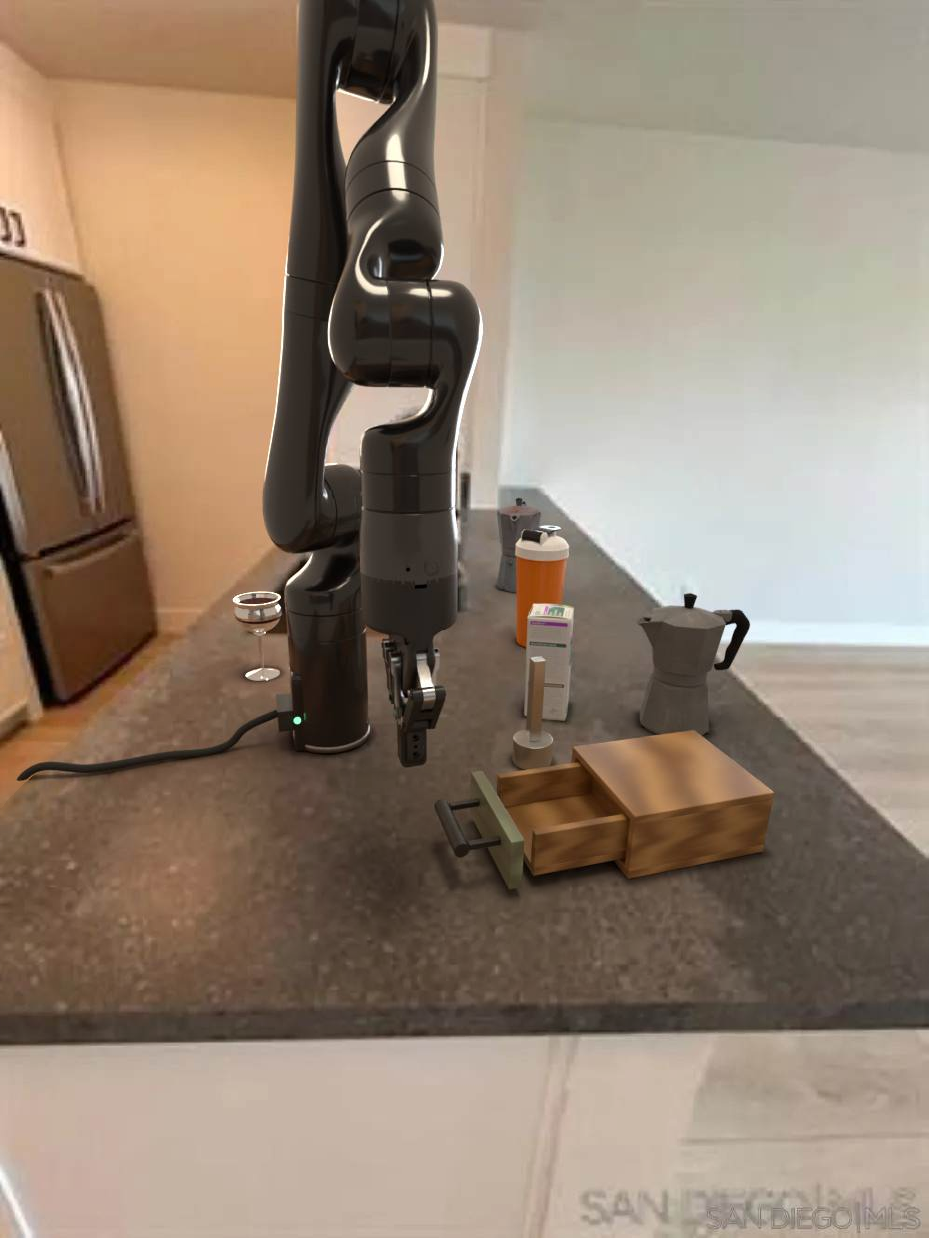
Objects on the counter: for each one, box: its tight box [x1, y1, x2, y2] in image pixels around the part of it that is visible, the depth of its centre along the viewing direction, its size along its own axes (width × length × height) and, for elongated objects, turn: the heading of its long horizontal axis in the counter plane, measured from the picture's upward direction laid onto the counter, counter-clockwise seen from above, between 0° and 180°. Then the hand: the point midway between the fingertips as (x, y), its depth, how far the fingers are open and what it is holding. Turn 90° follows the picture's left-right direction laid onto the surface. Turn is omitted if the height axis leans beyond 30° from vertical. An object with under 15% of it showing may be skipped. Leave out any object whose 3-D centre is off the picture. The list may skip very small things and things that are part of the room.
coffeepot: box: [636, 592, 751, 737], centre depth 87 cm, size 15×9×18 cm, turn 101°
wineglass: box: [232, 591, 283, 682], centre depth 100 cm, size 7×7×12 cm
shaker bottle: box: [515, 525, 570, 648], centre depth 114 cm, size 9×9×20 cm
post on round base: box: [511, 657, 554, 770], centre depth 78 cm, size 5×5×13 cm
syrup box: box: [523, 604, 575, 722], centre depth 90 cm, size 6×6×14 cm
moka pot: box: [496, 497, 542, 593], centre depth 148 cm, size 10×15×20 cm, turn 170°
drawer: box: [433, 762, 630, 890], centre depth 63 cm, size 18×11×5 cm, turn 107°
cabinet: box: [571, 730, 775, 880], centre depth 67 cm, size 15×13×7 cm
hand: (412, 762), depth 57 cm, fingers closed
